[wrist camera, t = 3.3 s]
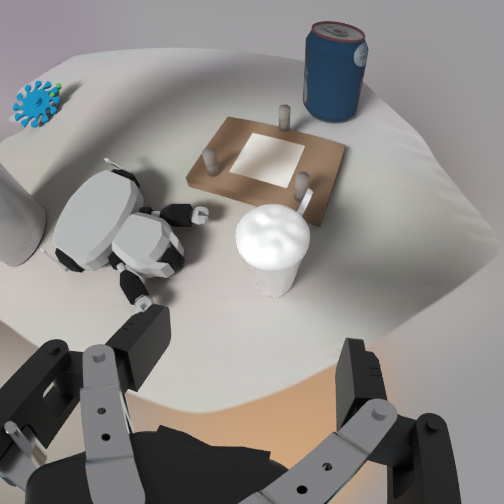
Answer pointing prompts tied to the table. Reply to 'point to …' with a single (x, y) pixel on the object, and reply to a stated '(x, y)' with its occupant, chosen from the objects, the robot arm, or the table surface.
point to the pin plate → (269, 165)
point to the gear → (37, 103)
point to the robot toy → (121, 232)
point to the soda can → (334, 70)
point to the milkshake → (274, 244)
